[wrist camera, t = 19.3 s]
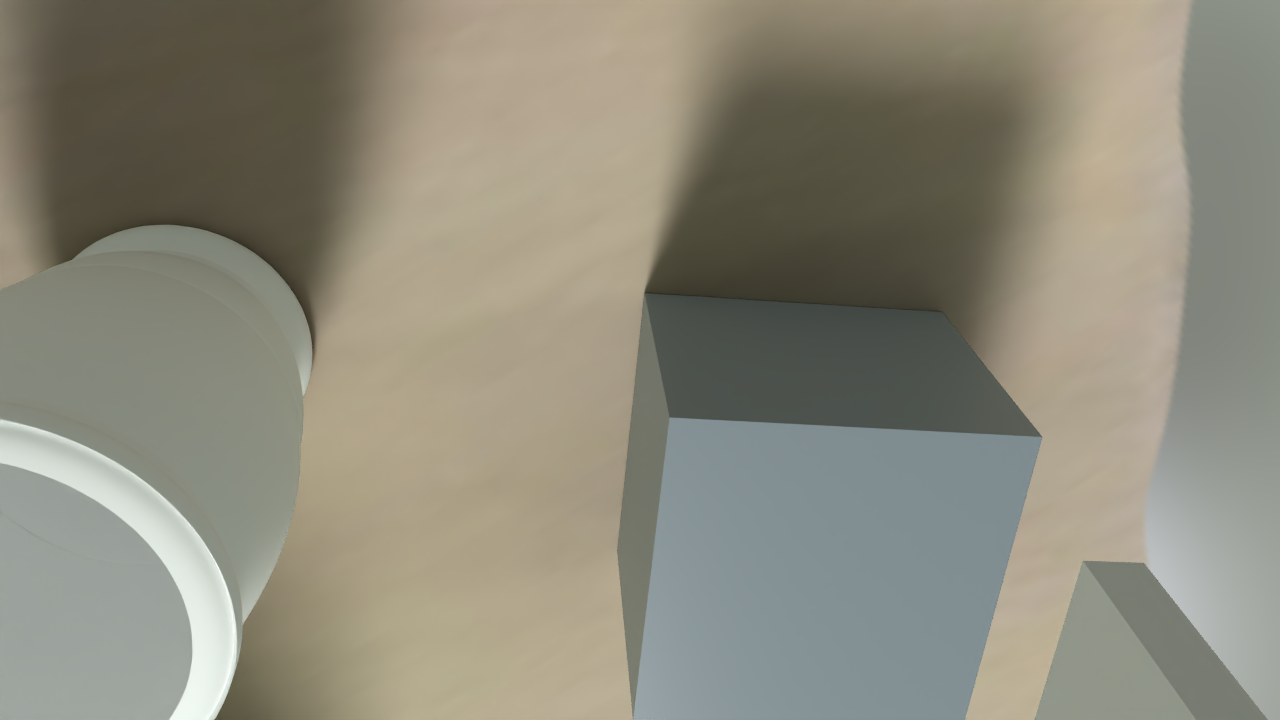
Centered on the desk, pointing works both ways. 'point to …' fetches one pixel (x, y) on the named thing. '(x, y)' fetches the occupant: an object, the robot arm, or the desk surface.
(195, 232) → the jar
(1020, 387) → the desk surface
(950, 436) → the slate gray cube
